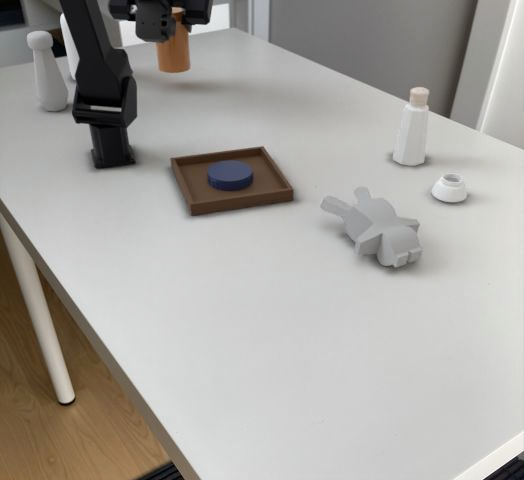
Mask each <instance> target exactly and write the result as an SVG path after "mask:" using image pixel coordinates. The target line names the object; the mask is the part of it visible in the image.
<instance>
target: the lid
mask: <svg viewBox="0 0 524 480" xmlns="http://www.w3.org/2000/svg"><path fill="white" fill-rule="evenodd" d="M207 179H208V183H209V185H210V186H212V187H213V188H215V189H218V190H223V191H236V190H241V189H244V188H246V187H248V186H250V185H251V183H252V181H253V170H252V167H251V166H250V165H248V164H246V163H244V162H240V161H221V162H218V163H215V164H213V165H211V166H210V167H209V168H208V171H207Z"/></svg>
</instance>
